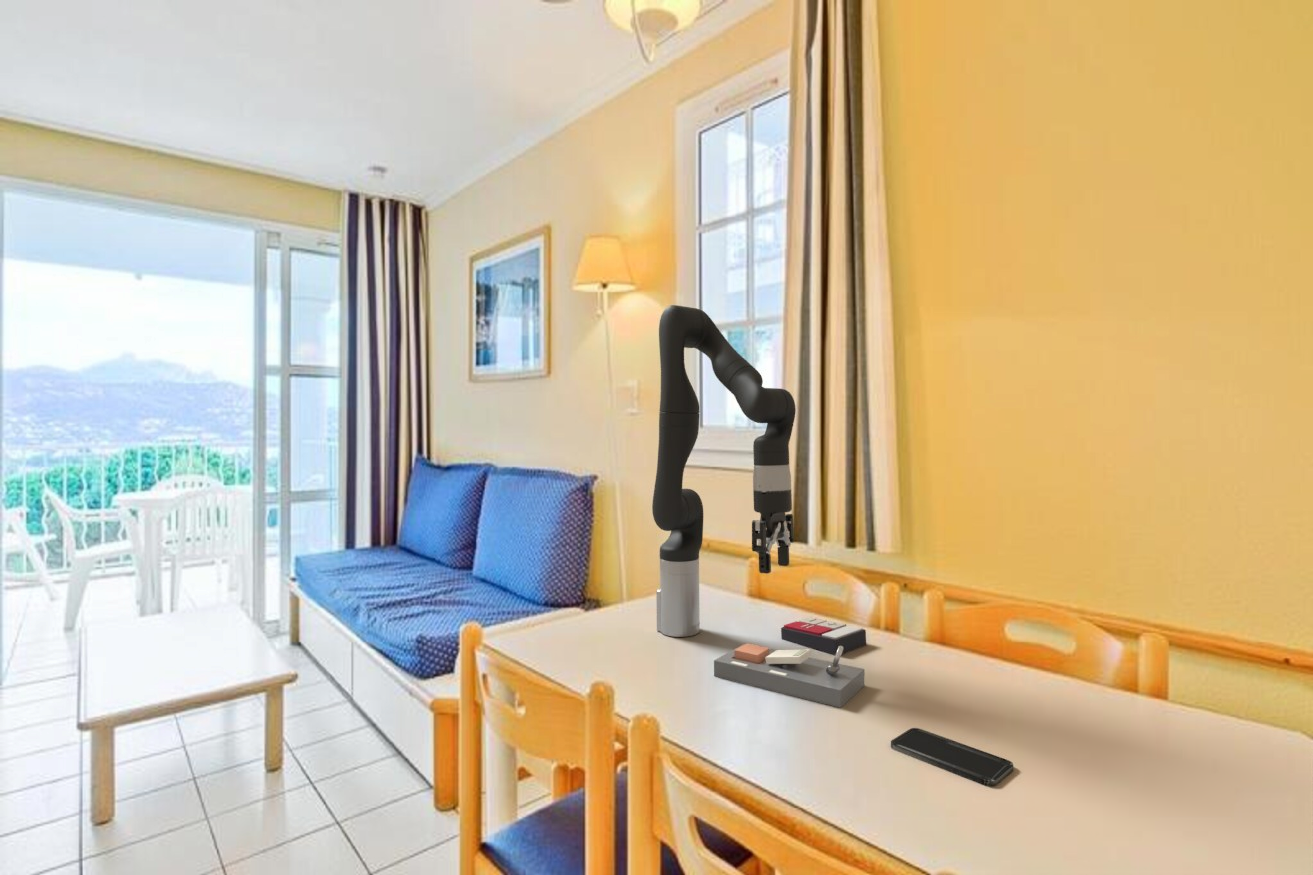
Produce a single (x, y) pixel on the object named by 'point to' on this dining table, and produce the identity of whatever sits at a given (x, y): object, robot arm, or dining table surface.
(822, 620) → the calculator
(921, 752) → the phone
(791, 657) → the white slab
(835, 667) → the toggle lever
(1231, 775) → the dining table surface
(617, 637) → the dining table surface
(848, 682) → the panel
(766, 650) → the push button
